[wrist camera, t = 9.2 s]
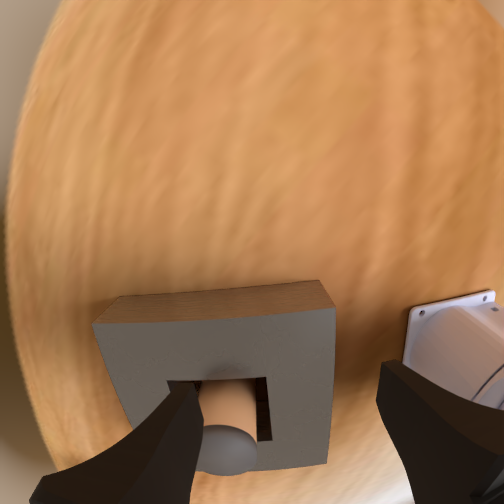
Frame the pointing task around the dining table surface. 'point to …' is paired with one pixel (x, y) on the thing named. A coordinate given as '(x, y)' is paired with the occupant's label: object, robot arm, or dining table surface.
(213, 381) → the pin
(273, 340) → the block
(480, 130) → the dining table surface
